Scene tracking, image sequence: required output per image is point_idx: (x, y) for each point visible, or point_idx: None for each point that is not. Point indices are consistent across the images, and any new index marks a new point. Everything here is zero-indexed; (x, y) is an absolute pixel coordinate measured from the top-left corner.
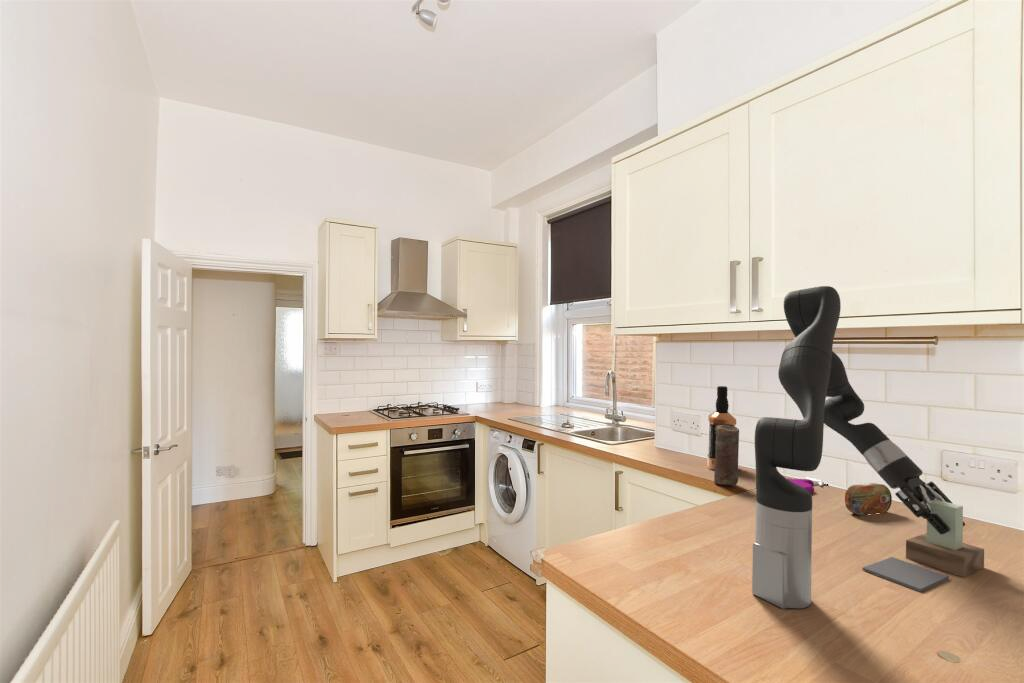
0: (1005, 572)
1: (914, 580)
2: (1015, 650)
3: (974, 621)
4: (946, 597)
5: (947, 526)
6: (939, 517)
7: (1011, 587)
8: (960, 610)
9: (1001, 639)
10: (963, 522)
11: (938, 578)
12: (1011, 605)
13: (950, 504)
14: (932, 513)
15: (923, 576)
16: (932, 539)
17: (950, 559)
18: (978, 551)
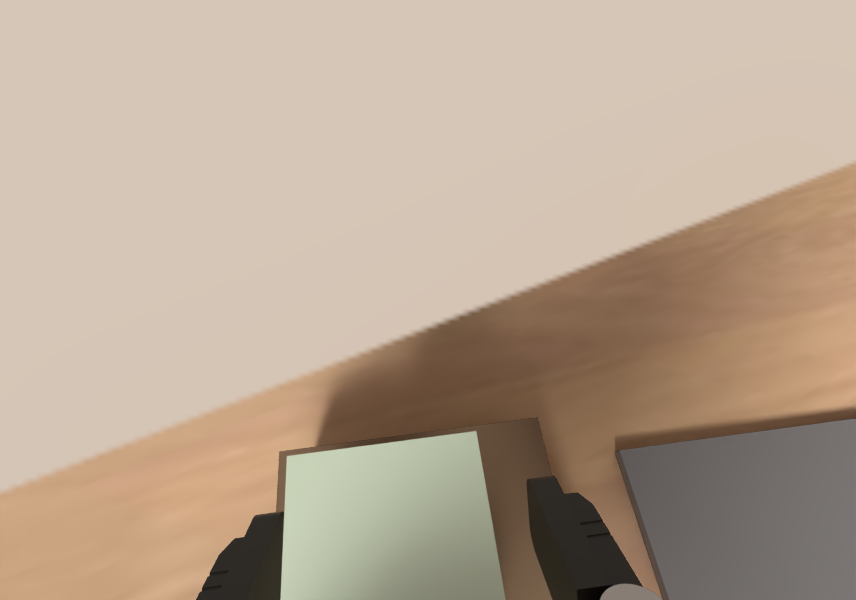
0: (285, 411)
1: (845, 476)
2: (847, 165)
3: (832, 253)
4: (787, 362)
5: (546, 490)
6: (572, 552)
7: (437, 333)
8: (819, 298)
9: (838, 193)
10: (263, 521)
11: (696, 451)
12: (597, 270)
13: (360, 550)
14: (648, 597)
15: (757, 488)
16: None
17: None
18: (354, 442)
